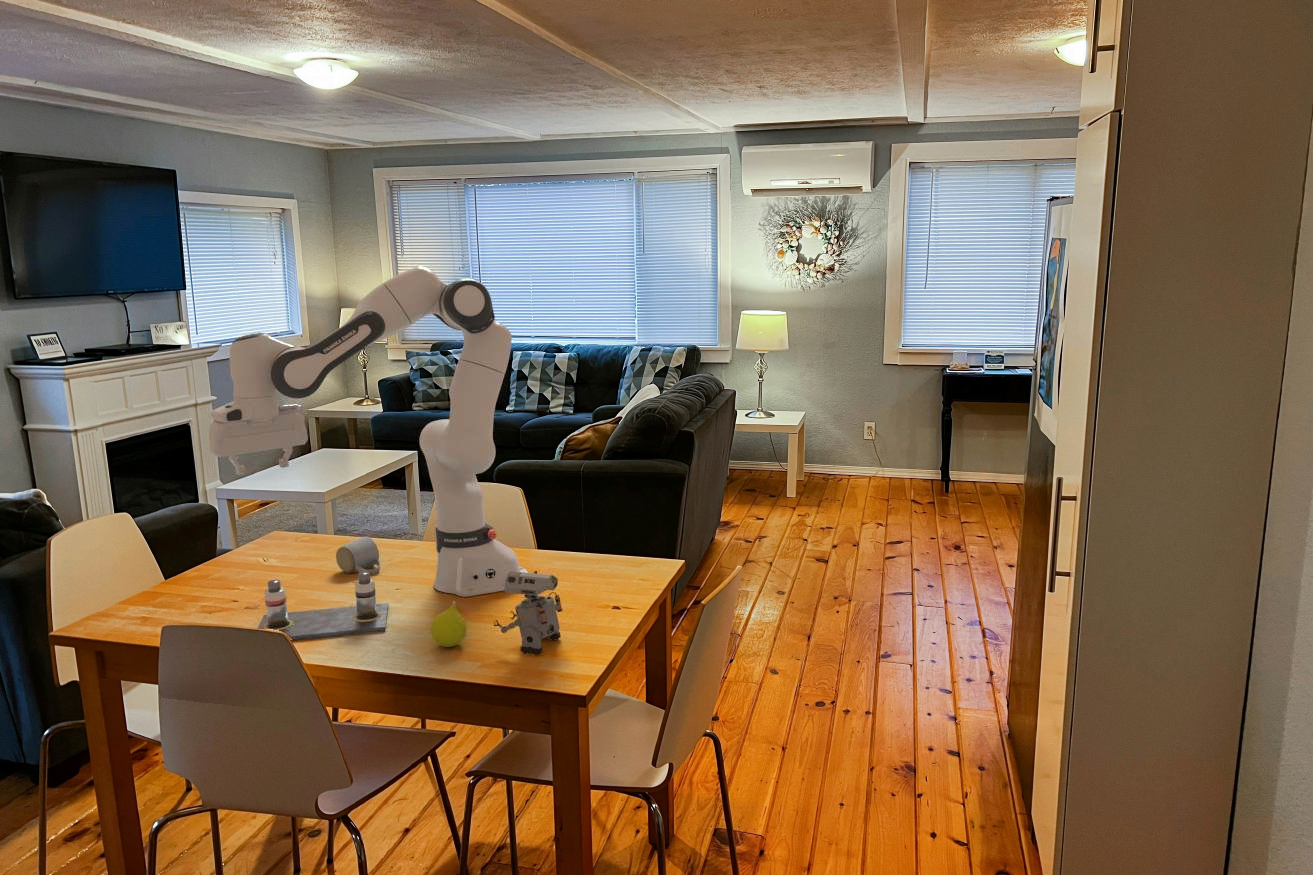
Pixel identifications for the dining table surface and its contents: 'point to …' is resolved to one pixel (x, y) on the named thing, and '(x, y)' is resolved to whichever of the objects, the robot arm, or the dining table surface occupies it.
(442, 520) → the robot arm
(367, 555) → the ceramic mug
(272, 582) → the red-banded small bottle
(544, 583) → the figurine
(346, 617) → the plate
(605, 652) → the dining table surface
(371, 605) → the dark-banded small bottle
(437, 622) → the ornament
